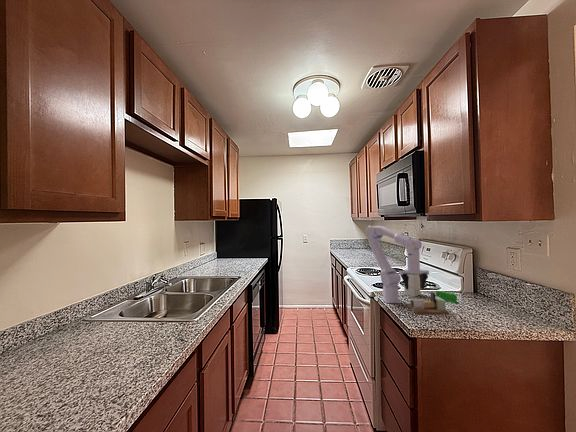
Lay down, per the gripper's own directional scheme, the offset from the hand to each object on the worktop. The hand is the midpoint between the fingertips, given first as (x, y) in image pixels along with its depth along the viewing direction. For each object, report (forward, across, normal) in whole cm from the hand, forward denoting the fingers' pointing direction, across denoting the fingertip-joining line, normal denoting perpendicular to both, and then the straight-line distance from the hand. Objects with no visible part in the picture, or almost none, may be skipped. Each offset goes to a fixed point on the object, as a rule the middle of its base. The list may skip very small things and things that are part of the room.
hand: (414, 288), depth 141 cm
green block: (+10, +23, +12) cm, 28 cm away
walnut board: (+10, +4, -3) cm, 11 cm away
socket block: (+9, +10, -3) cm, 14 cm away
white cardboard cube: (+9, 0, -3) cm, 9 cm away
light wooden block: (+8, +6, -3) cm, 11 cm away
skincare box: (+10, +9, +25) cm, 28 cm away
